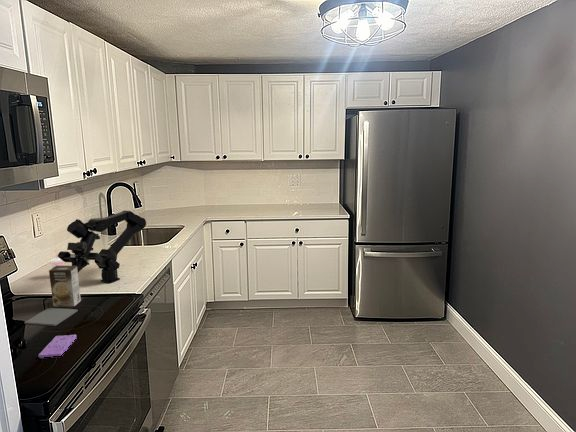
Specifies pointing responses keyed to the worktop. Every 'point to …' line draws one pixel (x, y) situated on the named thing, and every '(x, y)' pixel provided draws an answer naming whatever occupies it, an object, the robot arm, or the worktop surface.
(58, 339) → the sponges
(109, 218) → the robot arm
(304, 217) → the worktop surface
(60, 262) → the beverage cup
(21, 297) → the worktop surface
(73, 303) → the coffee box
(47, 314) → the tipping mat
